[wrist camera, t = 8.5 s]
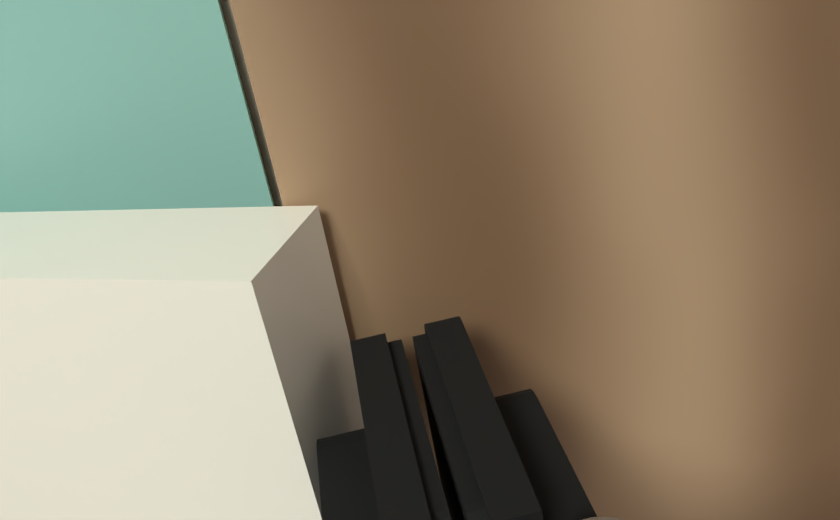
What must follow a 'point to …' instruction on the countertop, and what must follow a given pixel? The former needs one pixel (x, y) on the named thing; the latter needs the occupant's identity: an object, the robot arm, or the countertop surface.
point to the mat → (123, 108)
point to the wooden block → (589, 220)
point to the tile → (169, 364)
